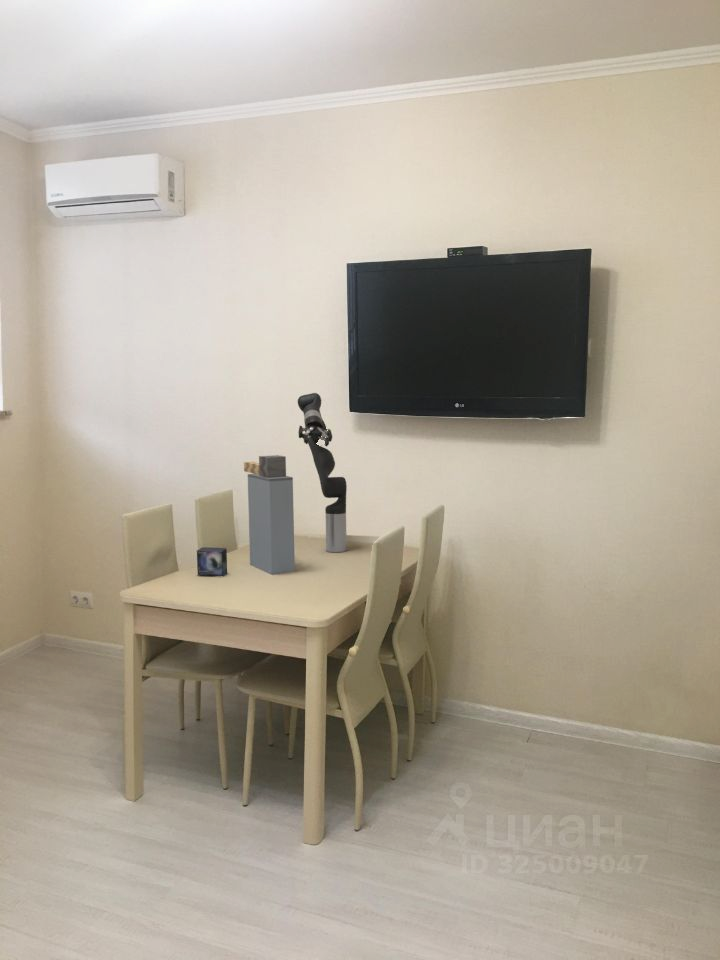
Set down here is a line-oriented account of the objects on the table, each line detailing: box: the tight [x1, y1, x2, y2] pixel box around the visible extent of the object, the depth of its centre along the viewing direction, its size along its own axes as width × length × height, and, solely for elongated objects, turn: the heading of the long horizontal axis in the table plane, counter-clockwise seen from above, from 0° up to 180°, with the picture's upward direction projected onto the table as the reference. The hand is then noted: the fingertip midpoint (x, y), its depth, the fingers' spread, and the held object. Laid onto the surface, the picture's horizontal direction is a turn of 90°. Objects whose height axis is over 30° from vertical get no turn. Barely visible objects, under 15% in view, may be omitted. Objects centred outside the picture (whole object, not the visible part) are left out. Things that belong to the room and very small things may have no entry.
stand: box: [247, 473, 296, 576], centre depth 331 cm, size 22×10×38 cm, turn 30°
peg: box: [243, 454, 287, 478], centre depth 335 cm, size 29×8×8 cm, turn 30°
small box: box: [196, 546, 228, 577], centre depth 322 cm, size 11×6×10 cm, turn 80°
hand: (316, 443), depth 343 cm, fingers open, 8 cm apart
